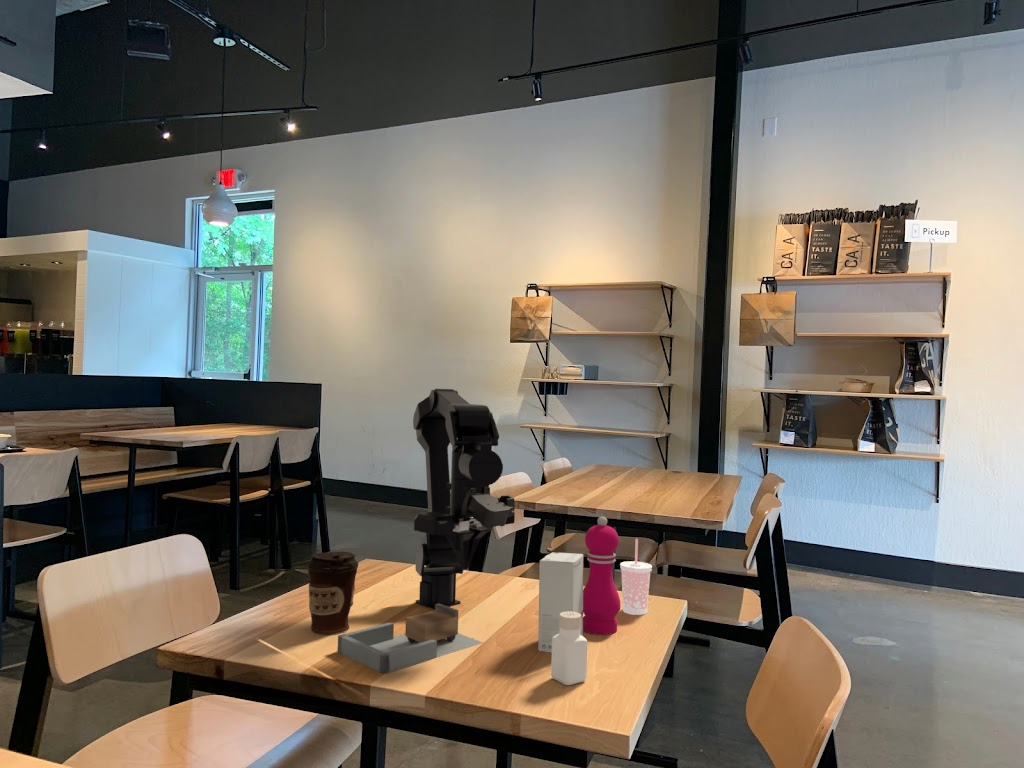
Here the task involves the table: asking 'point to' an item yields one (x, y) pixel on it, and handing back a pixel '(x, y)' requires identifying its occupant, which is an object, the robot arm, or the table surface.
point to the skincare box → (558, 593)
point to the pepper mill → (601, 581)
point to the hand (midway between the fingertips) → (464, 568)
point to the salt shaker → (569, 650)
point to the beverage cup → (635, 585)
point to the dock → (395, 648)
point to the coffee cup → (331, 591)
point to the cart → (433, 625)
